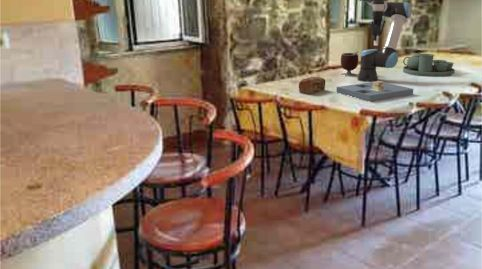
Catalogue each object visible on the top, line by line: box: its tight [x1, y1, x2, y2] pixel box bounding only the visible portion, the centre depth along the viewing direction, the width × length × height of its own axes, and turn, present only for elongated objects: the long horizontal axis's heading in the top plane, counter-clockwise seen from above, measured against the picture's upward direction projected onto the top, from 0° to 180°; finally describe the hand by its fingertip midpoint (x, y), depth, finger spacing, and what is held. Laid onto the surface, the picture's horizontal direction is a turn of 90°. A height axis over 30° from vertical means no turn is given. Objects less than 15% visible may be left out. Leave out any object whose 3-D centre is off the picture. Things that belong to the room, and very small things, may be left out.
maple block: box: [372, 80, 384, 90], centre depth 313 cm, size 5×5×5 cm
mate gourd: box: [340, 51, 359, 77], centre depth 385 cm, size 16×14×20 cm
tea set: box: [402, 52, 456, 77], centre depth 392 cm, size 40×40×16 cm
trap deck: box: [336, 81, 414, 102], centre depth 319 cm, size 38×32×4 cm
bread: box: [298, 76, 326, 95], centre depth 329 cm, size 19×11×10 cm, turn 137°
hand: (375, 45), depth 333 cm, fingers closed
